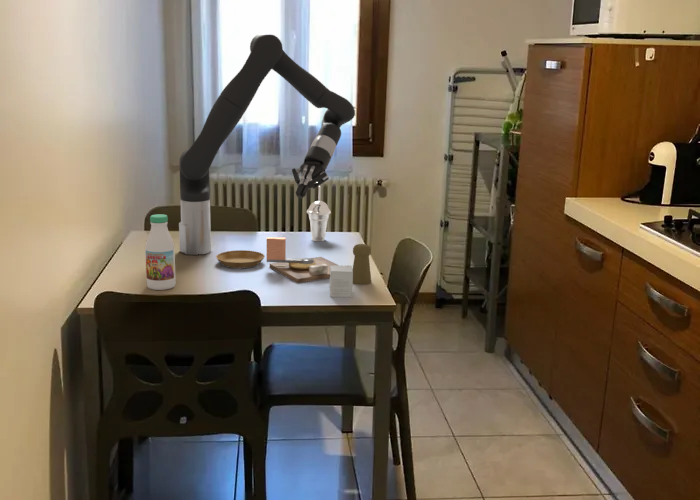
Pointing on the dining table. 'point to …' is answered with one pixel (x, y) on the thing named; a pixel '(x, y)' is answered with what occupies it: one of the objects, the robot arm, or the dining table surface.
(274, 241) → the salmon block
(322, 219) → the cup with straw
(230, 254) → the plant saucer
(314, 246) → the dining table surface
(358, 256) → the pepper mill
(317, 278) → the brown wooden cutting board
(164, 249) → the milk bottle
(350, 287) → the product box
